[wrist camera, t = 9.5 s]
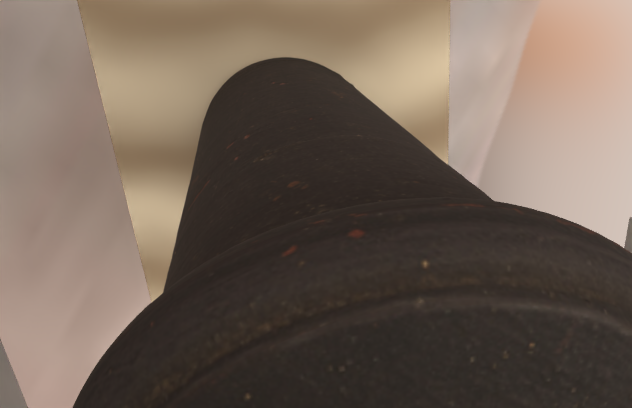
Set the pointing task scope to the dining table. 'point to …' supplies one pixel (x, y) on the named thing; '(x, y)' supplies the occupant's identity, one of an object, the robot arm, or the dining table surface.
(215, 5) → the footstool
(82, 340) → the dining table surface
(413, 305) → the container
